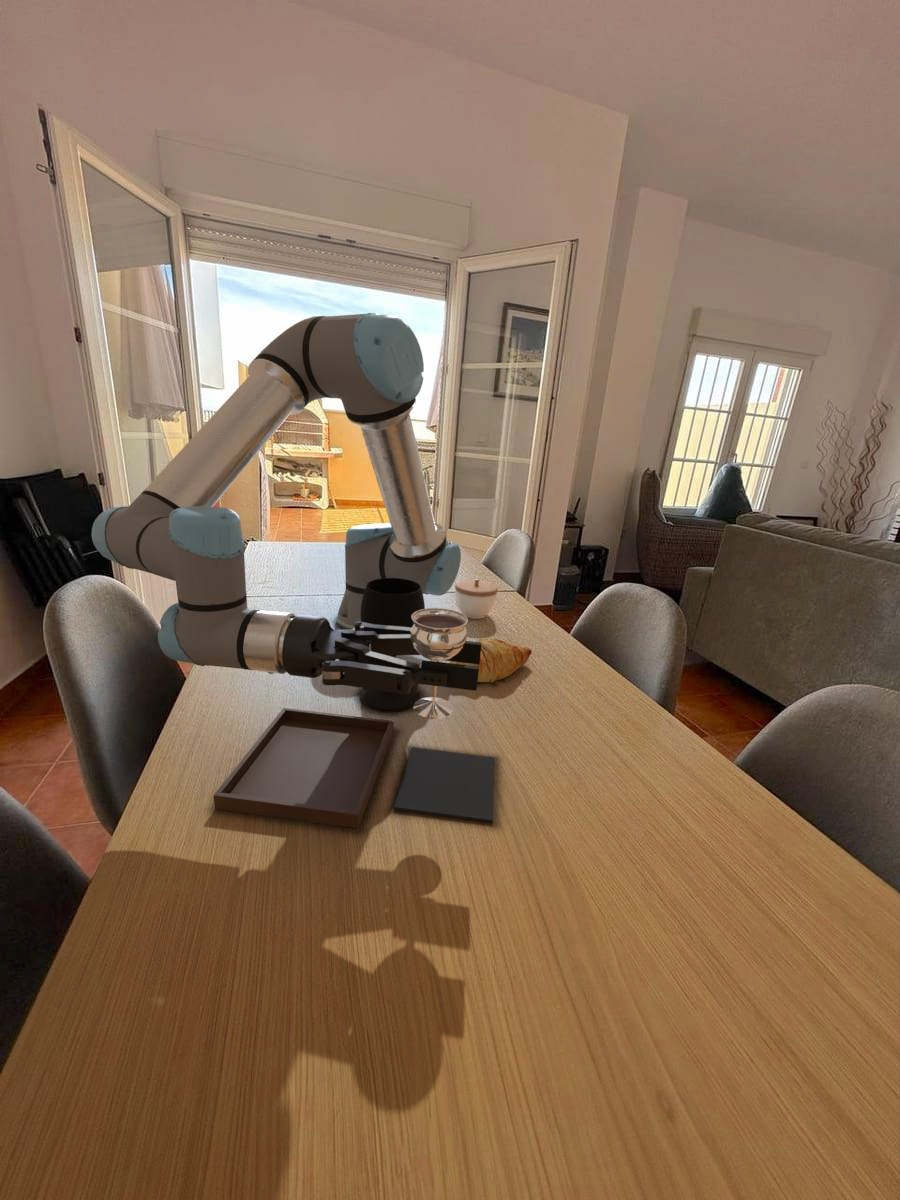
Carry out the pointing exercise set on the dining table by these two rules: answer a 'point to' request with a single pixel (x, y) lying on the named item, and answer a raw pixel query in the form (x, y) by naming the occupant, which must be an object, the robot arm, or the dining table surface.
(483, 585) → the trinket box
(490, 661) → the croissant
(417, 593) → the wine glass
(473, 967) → the dining table surface
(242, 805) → the tray
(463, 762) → the mat
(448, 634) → the wineglass
